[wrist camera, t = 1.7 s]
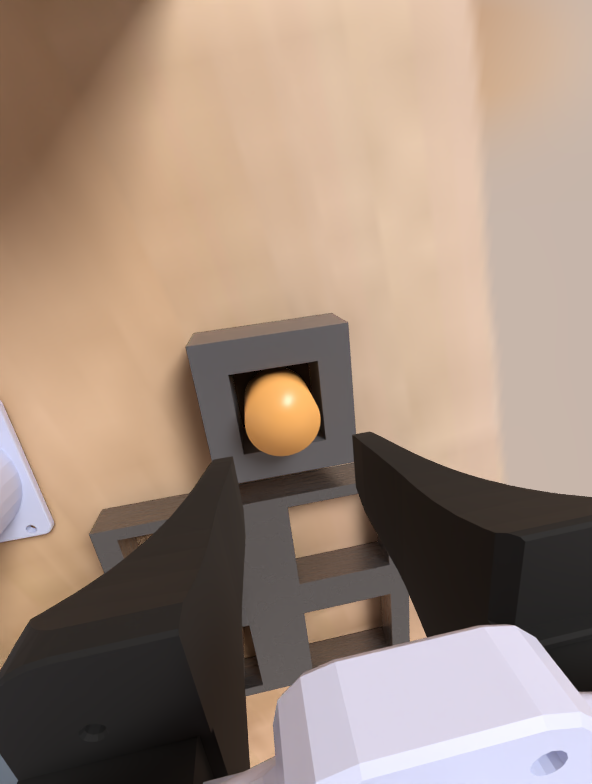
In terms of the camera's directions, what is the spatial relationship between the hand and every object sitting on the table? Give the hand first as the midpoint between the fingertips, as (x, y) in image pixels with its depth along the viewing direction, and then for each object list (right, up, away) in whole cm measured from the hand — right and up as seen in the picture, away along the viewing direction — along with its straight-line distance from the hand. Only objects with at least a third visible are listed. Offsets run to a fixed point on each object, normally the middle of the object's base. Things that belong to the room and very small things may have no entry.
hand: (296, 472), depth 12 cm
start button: (-1, +2, +6) cm, 7 cm away
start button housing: (-1, +3, +8) cm, 8 cm away
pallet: (-2, -10, +12) cm, 16 cm away
